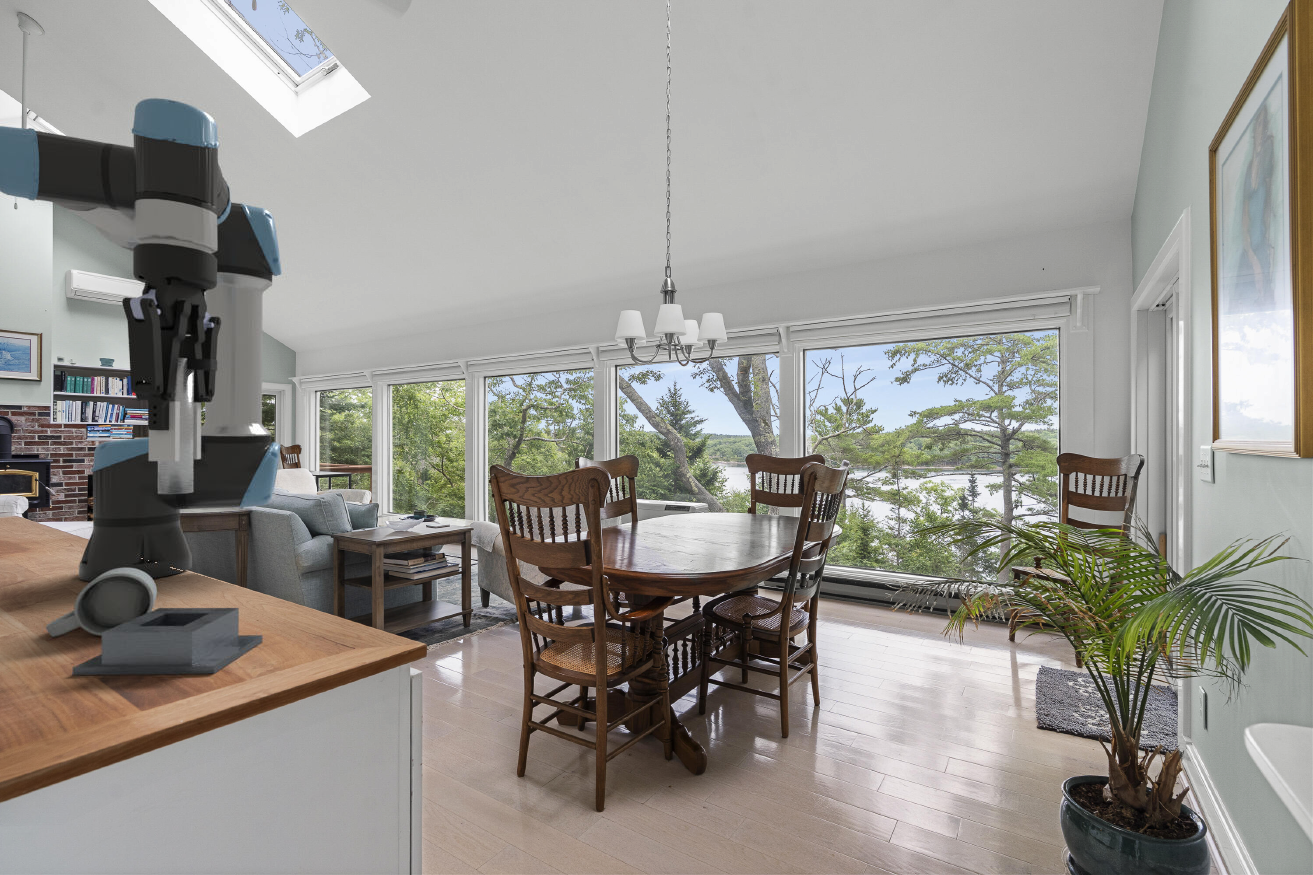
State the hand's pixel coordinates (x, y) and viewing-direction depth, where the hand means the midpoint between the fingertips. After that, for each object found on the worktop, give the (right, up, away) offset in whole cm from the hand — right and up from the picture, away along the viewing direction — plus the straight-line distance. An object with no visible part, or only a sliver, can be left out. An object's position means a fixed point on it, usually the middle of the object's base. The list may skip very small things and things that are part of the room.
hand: (175, 459), depth 73 cm
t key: (0, -4, 0) cm, 4 cm away
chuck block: (0, -22, +1) cm, 22 cm away
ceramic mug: (-16, -22, +9) cm, 29 cm away
